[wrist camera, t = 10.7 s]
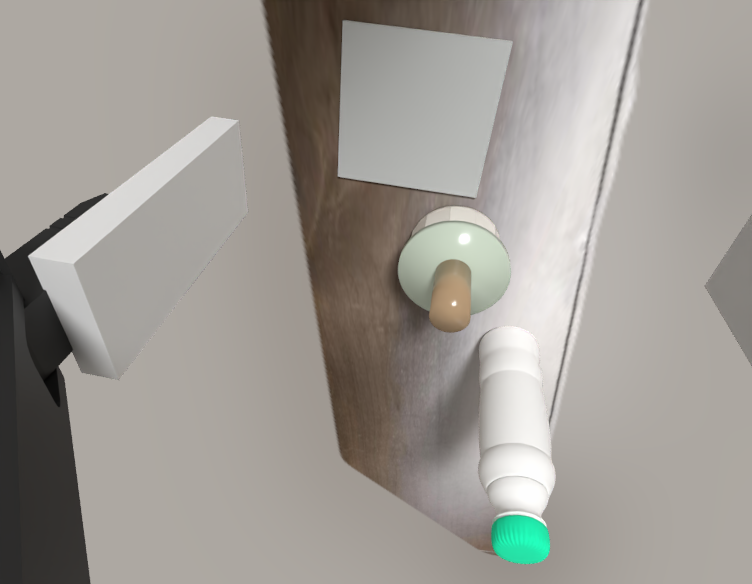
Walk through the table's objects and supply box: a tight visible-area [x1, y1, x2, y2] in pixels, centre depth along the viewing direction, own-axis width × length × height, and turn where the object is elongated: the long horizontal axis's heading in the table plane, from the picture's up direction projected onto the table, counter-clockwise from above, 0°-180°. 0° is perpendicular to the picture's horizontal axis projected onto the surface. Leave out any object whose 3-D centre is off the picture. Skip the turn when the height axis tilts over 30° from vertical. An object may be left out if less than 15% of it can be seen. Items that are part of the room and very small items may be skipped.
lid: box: [398, 220, 511, 332], centre depth 45 cm, size 11×11×8 cm
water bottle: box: [478, 326, 556, 564], centre depth 49 cm, size 7×7×25 cm
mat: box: [338, 20, 513, 198], centre depth 44 cm, size 14×14×1 cm
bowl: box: [411, 205, 500, 240], centre depth 50 cm, size 9×9×4 cm
